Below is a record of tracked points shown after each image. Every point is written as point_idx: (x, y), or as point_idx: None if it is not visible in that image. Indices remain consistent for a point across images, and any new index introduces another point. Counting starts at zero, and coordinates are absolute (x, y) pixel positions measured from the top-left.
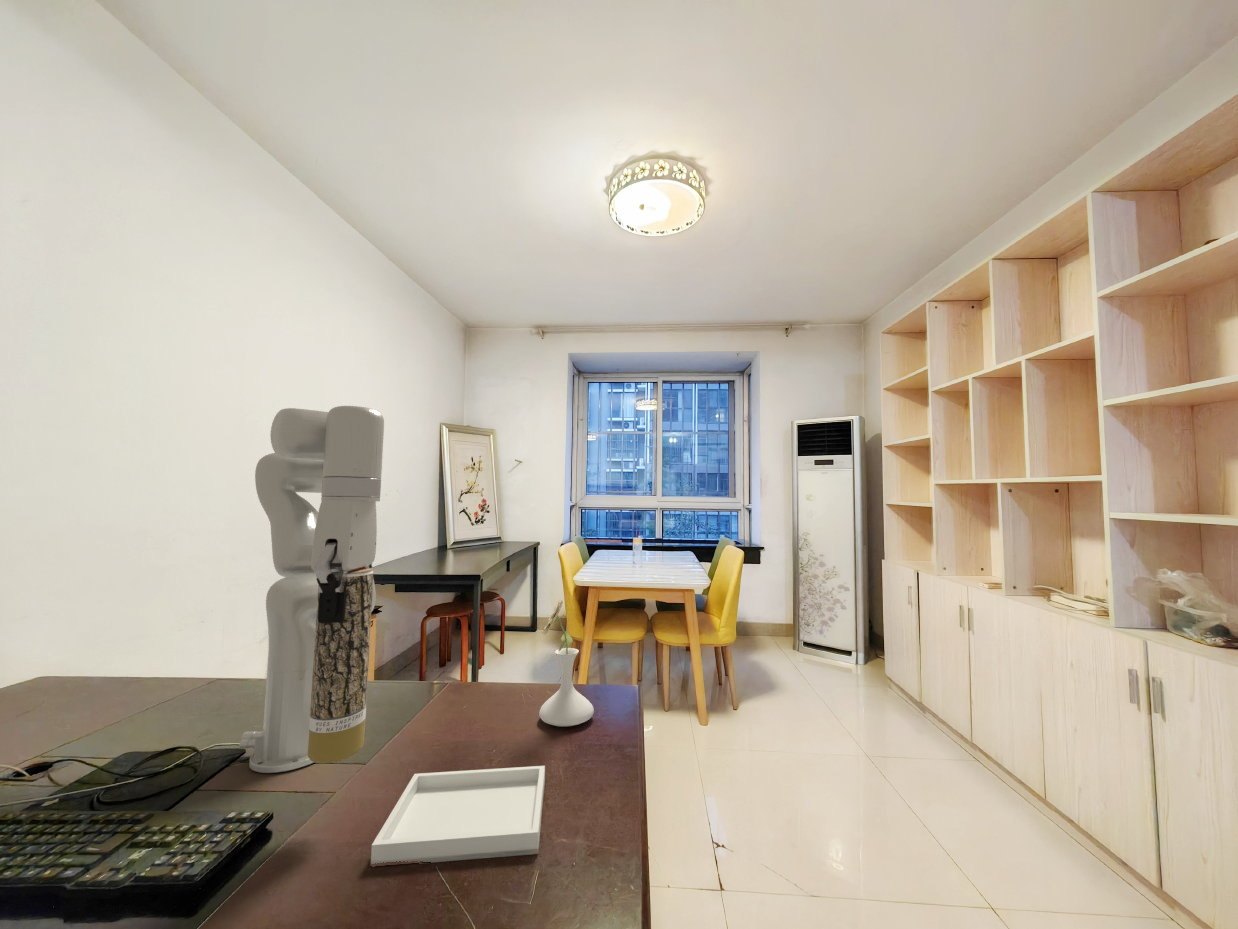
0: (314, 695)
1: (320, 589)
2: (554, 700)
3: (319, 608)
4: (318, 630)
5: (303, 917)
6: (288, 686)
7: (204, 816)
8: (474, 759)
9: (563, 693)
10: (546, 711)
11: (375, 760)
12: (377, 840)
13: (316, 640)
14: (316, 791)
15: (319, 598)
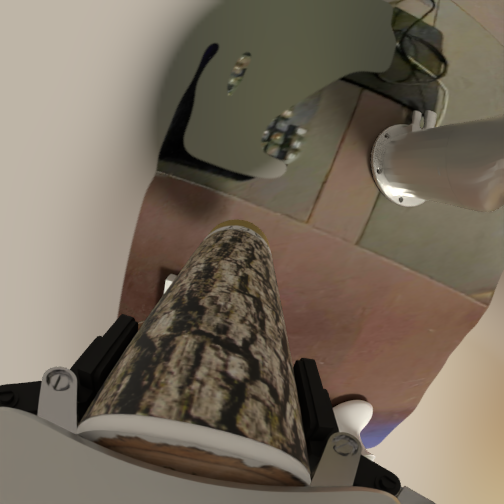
0: (199, 247)
1: (47, 378)
2: (348, 421)
3: (104, 336)
4: (165, 296)
5: (133, 236)
6: (432, 155)
7: (306, 108)
8: (312, 347)
9: (346, 431)
10: (345, 410)
11: (359, 253)
12: (170, 283)
13: (179, 280)
14: (316, 203)
15: (87, 355)
